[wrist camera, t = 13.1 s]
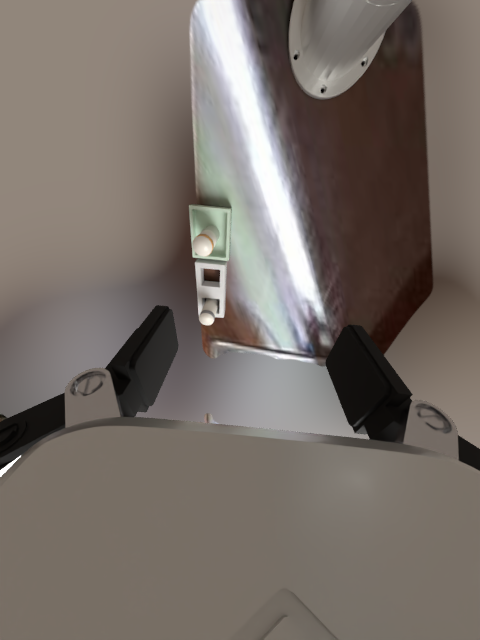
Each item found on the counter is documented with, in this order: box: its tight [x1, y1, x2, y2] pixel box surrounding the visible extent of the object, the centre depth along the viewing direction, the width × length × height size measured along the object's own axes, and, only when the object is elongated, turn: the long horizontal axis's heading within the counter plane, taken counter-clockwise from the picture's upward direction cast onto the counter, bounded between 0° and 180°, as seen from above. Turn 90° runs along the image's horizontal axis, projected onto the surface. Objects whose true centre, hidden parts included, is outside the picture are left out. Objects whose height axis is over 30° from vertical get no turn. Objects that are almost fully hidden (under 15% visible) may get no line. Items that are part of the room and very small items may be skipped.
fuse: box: [199, 298, 219, 325], centre depth 48 cm, size 4×4×9 cm
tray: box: [189, 204, 232, 261], centre depth 40 cm, size 10×8×2 cm
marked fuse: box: [192, 225, 220, 256], centre depth 37 cm, size 4×4×9 cm
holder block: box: [195, 258, 227, 318], centre depth 48 cm, size 15×7×3 cm, turn 176°
